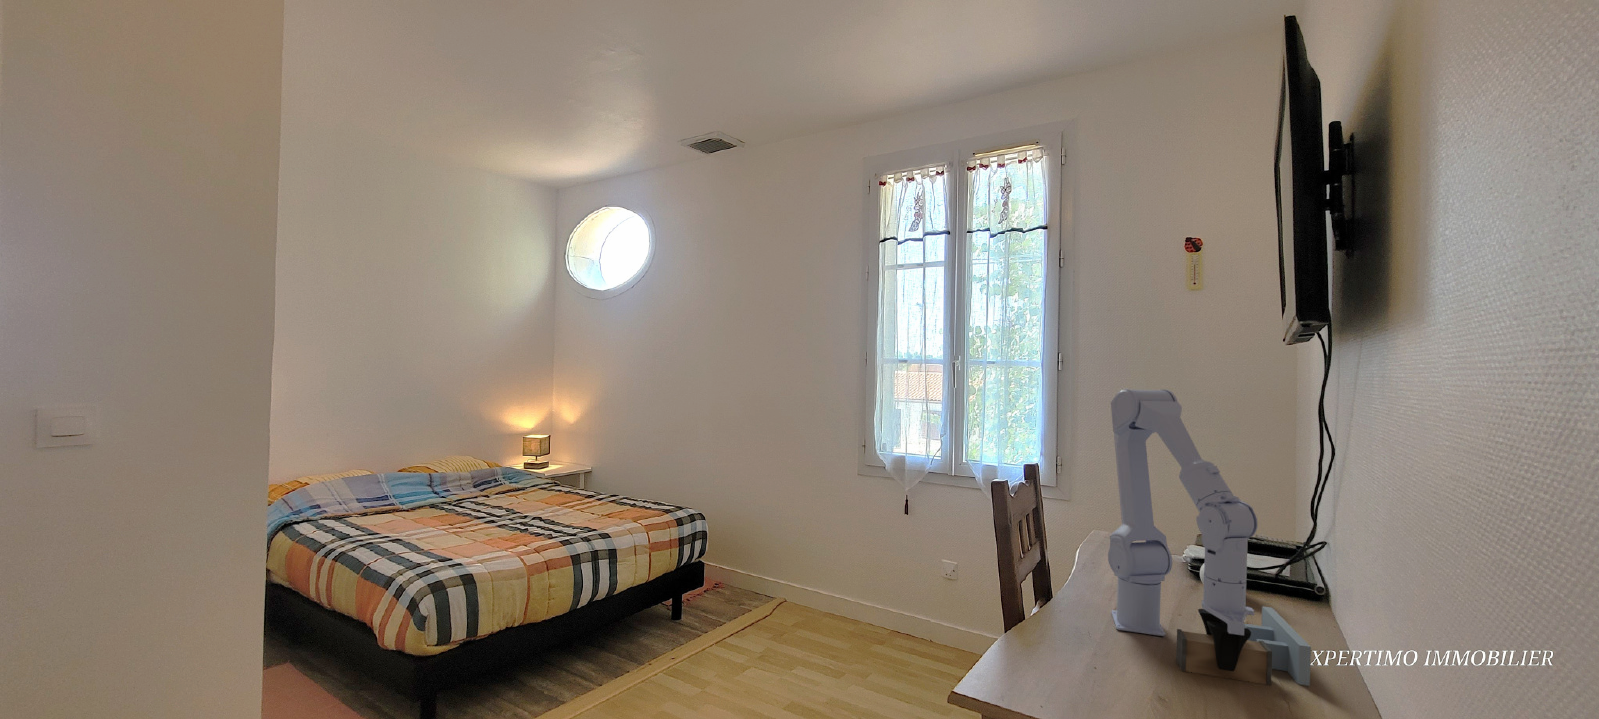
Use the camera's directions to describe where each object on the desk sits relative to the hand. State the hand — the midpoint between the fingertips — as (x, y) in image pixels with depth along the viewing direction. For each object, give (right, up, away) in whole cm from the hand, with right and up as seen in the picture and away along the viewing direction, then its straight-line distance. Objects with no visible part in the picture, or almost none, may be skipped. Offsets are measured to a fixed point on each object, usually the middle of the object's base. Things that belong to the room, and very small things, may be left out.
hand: (1222, 663), depth 108 cm
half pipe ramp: (0, -1, 0) cm, 1 cm away
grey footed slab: (+11, -2, +6) cm, 13 cm away
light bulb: (+15, -2, +26) cm, 30 cm away
